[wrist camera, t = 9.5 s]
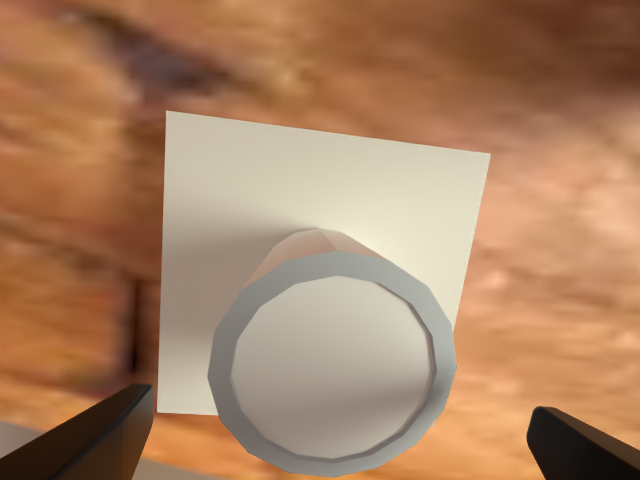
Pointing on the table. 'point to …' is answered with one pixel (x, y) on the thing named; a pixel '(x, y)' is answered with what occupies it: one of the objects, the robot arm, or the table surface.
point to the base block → (295, 222)
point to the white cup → (331, 358)
